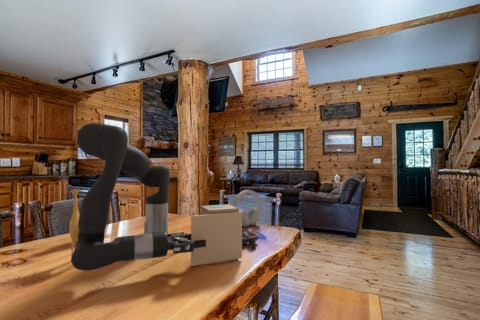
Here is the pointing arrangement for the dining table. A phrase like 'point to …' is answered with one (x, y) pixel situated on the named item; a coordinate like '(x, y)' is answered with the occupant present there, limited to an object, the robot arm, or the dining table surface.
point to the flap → (217, 237)
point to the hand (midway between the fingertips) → (201, 239)
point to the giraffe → (74, 221)
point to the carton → (218, 210)
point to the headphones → (253, 213)
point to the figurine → (249, 238)
